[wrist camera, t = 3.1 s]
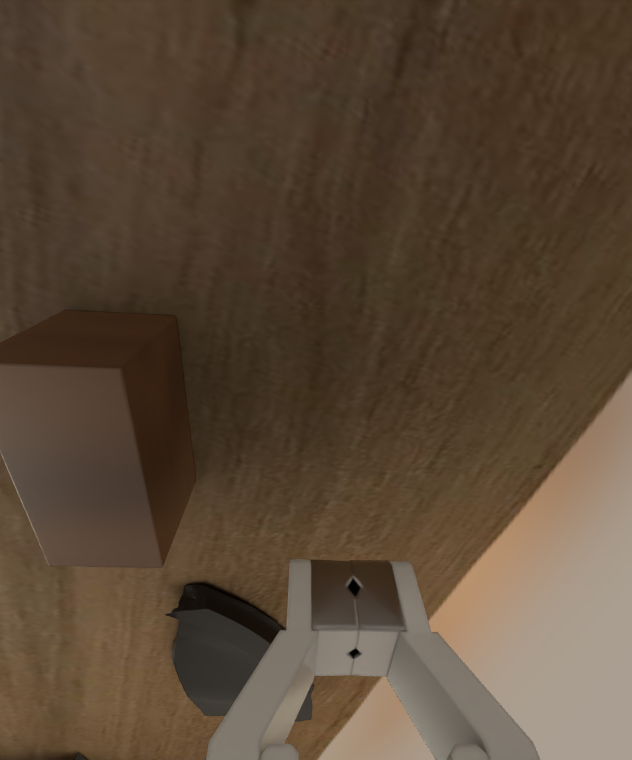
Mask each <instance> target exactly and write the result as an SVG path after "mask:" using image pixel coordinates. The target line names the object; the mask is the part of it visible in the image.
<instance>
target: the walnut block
mask: <svg viewBox="0 0 632 760" xmlns="http://www.w3.org/2000/svg"><path fill="white" fill-rule="evenodd" d="M0 453H1V456H2V458H3V460H4V463H5V465H6V467H7V470H8V472H9V474H10V477H11V479H12V481H13V484H14V486H15V488H16V491H17V493H18V495H19V498H20V500H21V502H22V505H23V507H24V509H25V512H26V514H27V516H28V519H29V521H30V523H31V526H32V528H33V530H34V532H35V535H36V537H37V539H38V542H39V544H40V546H41V549H42V551H43V553H44V556H45V558H46V560H47V563H48V565H50V566H87V567H134V568H162V567H163V565H164V562H165V560H166V557H167V555H168V552H169V549H170V547H171V544H172V541H173V539H174V536H175V534H176V531H177V528H178V526H179V523H180V521H181V518H182V515H183V513H184V510H185V508H186V505H187V502H188V500H189V497H190V495H191V492H192V489H193V487H194V484H195V482H196V476H195V468H194V460H193V452H192V444H191V435H190V427H189V419H188V411H187V403H186V394H185V386H184V378H183V370H182V362H181V353H180V345H179V337H178V329H177V321H176V316H169V315H150V314H130V313H110V312H91V311H71V310H64V311H62V312H60V313H58V314H56V315H54V316H52V317H50V318H48V319H46V320H44V321H42V322H40V323H38V324H37V325H35V326H33V327H31V328H29V329H27V330H25V331H23V332H21V333H19V334H17V335H15V336H13V337H11V338H9V339H7V340H5V341H3V342H1V343H0Z"/></svg>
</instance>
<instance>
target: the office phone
mask: <svg viewBox="0 0 632 760" xmlns="http://www.w3.org/2000/svg"><path fill="white" fill-rule="evenodd" d="M74 760H87V759H85V758H84V757H83V756H82V755H80V754H78V755H77V756H76V758H75V759H74Z"/></svg>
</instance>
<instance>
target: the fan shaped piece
mask: <svg viewBox="0 0 632 760" xmlns="http://www.w3.org/2000/svg"><path fill="white" fill-rule="evenodd" d="M166 615H167V616H170V617H174V618H177V619H180V621H179V628H178V632H177V636H178V637H177V638H176V639H175V640H174V643H173V647H172V657H173V663H174V666H175V668H176V672H177V675H178V677H179V679H180V682H181V684H182V686H183V689H184V691H185V692H186V694H187V696H188V697H189V698H190V699H191V701H193V703H194V704H195V705H196V706H197V707H198V708H199V709H200V710H201V711H202V712H203V714H204V715H206V716H226V714H227V713H228V711H229V709H230V708H231V706H232V705H233V703H234V702H235V700H236V698H237V697H238V695H239V694H240V692H241V691H242V689H243V687H244V686H245V684H246V683H247V681H248V680H249V678H250V676H251V675H252V673H253V672H254V670H255V669H256V667H257V665H258V664H259V662H260V661H261V659H262V658H263V656H264V654H265V653H266V651H267V650H268V648H269V647H270V645H271V643H272V642H273V640H274V639H275V637H276V636H277V634H278V633H279V631H280V630H284V629H283V628H282V627H280V626H279V624H278V623H277V622H276V621H274V620H273V619H271V618H269V617H268V616H266V615H265V614H263V613H262V612H260V611H258V610H257V609H255V608H254V607H252V606H250V605H248V604H246V603H244V602H242V601H240V600H237V599H235V598H232V597H230V596H228V595H225V594H223V593H221V592H219V591H216V590H214V589H212V588H210V587H208V586H204V585H187V586H185V587H184V590H183V594H182V596H181V599H180V601H179V606H178V607H177V608H175V609H173V611H172V612H171V613H169V614H166ZM313 687H314V684H313V682H312V684H311V687H310V689H309V691H308V693H307V695H306V697H305V700H304V702H303V704H302V706H301V708H300V710H299V713H298V715H297V717H296V719H295V721H305V720H310V719H311V718H312V699H311V693H312V691H313ZM295 721H294V722H295Z"/></svg>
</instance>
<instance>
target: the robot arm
mask: <svg viewBox="0 0 632 760" xmlns="http://www.w3.org/2000/svg"><path fill="white" fill-rule="evenodd" d="M335 675H359V676H385V677H387V680H388V682H389V683H390V685H391V687H392V688H393V690H394V692H395V693H396V695H397V697H398V698H399V700H400V701H401V703H402V705H403V706H404V708H405V710H406V711H407V713H408V715H409V716H410V718H411V720H412V721H413V723H414V724H415V726H416V728H417V730H418V731H419V733H420V735H421V736H422V738H423V740H424V741H425V743H426V745H427V746H428V748H429V749H430V751H431V753H432V754H433V756H434V758H435V759H436V760H540V758H539V756H538V753H537V751H536V748H535V746H534V744H533V742H532V740H531V739H530V738H529V737H528V736H527V735H526V734H525V732H524V731H523V730H522V729H521V728H520V727H519V725H518V724H517V723H516V722H515V721H514V720H513V719H512V717H511V716H510V715H509V714H508V713H507V712H506V711H505V709H504V708H503V707H502V706H501V705H500V704H499V703H498V701H497V700H496V699H495V698H494V697H493V696H492V694H491V693H490V692H489V691H488V690H487V689H486V688H485V687H484V685H483V684H482V683H481V682H480V681H479V680H478V678H477V677H476V676H475V675H474V674H473V673H472V671H471V670H470V669H469V668H468V667H467V666H466V665H465V663H464V662H463V661H462V660H461V659H460V658H459V657H458V655H457V654H456V653H455V652H454V651H453V650H452V648H451V647H450V646H449V645H448V644H447V643H446V642H445V640H444V639H443V638H442V637H441V636H440V635H439V633H437V632H431V630H430V626H429V623H428V619H427V616H426V612H425V609H424V605H423V601H422V598H421V594H420V591H419V587H418V584H417V580H416V577H415V573H414V570H413V566H412V565H411V563H410V562H408V561H373V560H350V561H334V560H310V559H291V560H290V566H289V586H288V606H287V626H286V630H280V631H279V633H278V634H277V636H276V637H275V639H274V640H273V642H272V643H271V645H270V647H269V648H268V650H267V651H266V653H265V654H264V656H263V658H262V659H261V661H260V662H259V664H258V665H257V667H256V669H255V670H254V672H253V673H252V675H251V676H250V678H249V680H248V681H247V683H246V684H245V686H244V687H243V689H242V691H241V692H240V694H239V695H238V697H237V698H236V700H235V702H234V703H233V705H232V706H231V708H230V709H229V711H228V713H227V714H226V716H225V717H224V719H223V720H222V722H221V724H220V725H219V727H218V728H217V730H216V731H215V733H214V734H213V736H212V738H211V739H210V741H209V746H208V751H207V757H206V760H299V753H298V752H297V751H296V749H295V748H294V747H293V746H292V744H284V743H285V741H286V739H287V736H288V734H289V732H290V730H291V728H292V726H293V723H294V721H295V719H296V717H297V715H298V713H299V710H300V708H301V706H302V704H303V702H304V700H305V697H306V695H307V693H308V691H309V689H310V687H311V684H312V682H313V680H314V676H335Z"/></svg>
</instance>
